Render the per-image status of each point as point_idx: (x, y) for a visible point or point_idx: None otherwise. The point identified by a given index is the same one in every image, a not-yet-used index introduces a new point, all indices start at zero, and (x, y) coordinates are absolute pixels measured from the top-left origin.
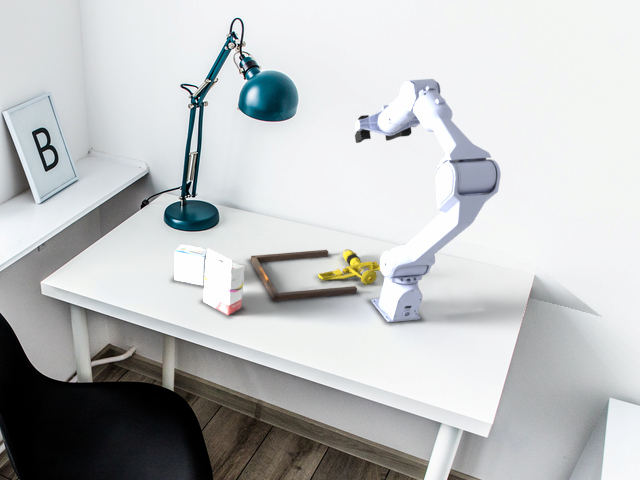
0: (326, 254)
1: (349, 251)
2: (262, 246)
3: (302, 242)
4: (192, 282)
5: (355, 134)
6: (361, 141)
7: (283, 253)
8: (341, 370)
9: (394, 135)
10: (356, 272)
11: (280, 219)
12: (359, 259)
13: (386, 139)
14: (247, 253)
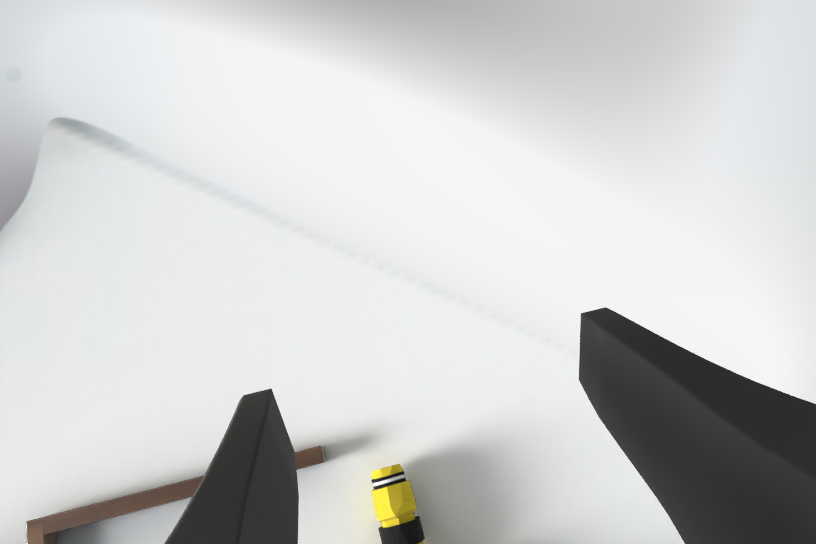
0: (319, 463)
1: (389, 501)
2: (108, 401)
3: (257, 360)
4: None
5: (236, 413)
6: (296, 529)
7: (155, 491)
8: None
9: (682, 523)
10: None
11: (213, 198)
12: (421, 541)
13: (584, 379)
14: (41, 460)
